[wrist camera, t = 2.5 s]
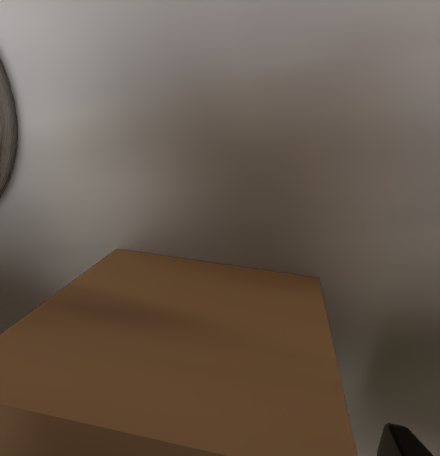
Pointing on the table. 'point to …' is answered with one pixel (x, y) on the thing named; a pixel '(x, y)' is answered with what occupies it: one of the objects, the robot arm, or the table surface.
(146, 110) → the table surface
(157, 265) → the walnut cube
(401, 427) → the robot arm
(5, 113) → the jar lid
